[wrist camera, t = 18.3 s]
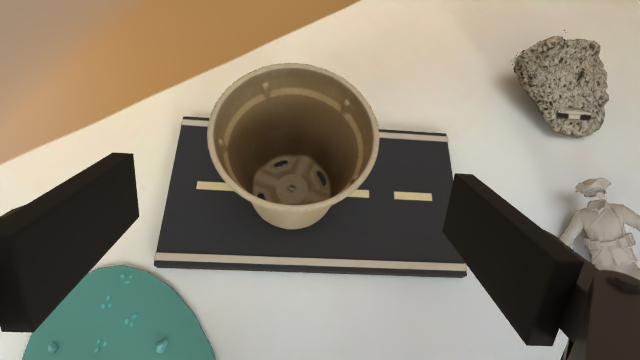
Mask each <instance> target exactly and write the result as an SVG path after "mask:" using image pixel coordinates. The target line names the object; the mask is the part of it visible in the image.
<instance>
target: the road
mask: <svg viewBox="0 0 640 360" xmlns="http://www.w3.org/2000/svg"><path fill="white" fill-rule="evenodd" d="M209 119H210V118H199V117H183V119H182V122H181V131H180V136H179V141H178V146H177V151H176V156H175V161H174V166H173V171H172V176H171V181H170V186H169V191H168V196H167V201H166V206H165V211H164V216H163V221H162V226H161V231H160V236H159V241H158V246H157V251H156V253H155V257H154V260H155V261H154V266H156V267H157V268H186V269H216V270H246V271H276V272H306V273H336V274H366V275H395V276H425V277H455V278H463V277H465V276H467V273H466V271H467V266H466V264H465V262H464V260H463V259H462V258H461V256H460V255H459V253H458V252H457V251H456V249H455V248H454V247H453V245H452V244H451V243H450V241H449V240H448V239H447V237H446V236H445V235H444V233H443V232H442V230H443V226H444V221H445V217H446V212H447V208H448V203H449V198H450V194H451V189H452V185H453V177H452V170H451V163H450V156H449V149H448V143H447V142H448V137H447V136H446V134H442V133H427V132H412V131H396V130H381V129H378V130H379V139H380V140H379V149H378V154H377V158H376V161H375V163H374V166H373V168H372V170H371V171H370V173H369V175H368V176H367V178H366V179H365V180H364V182H363V183H362V184H361V185H360V186H359V187H358V188H357V189H356V190H355V191H354V192H353V193H351V194H350V195H349V196H347V197H346V198H344V199H343V200H341V201H339V202H337V203H335V204H333V205H331V207H330V208H329V210H328V211H327V212H326V214H325V215H324V216H323V217H322V218H321V219H320V220H318V221H317V222H315V223H314V224H312V225H310V226H308V227H305V228H301V229H284V228H280V227H277V226H274V225H272V224H270V223H268V222H267V221H265V220H264V219H263V218H262V217H261V216H260V215H259V214H258V213H257V211H256V210H255V208H254V206H253V205H252V203H251V202H250V201H248V200H246V199H245V198H243V197H241V196H240V195H239V194H237V193H236V192H235V191H234V190H232V188H231V187H229V186H228V185H227V184H226V182H225V181H224V180H223V179H222V177H221V176H220V174H219V173H218V171H217V170H216V168H215V166H214V164H213V161H212V159H211V156H210V152H209V149H208V141H207V129H208V123H209ZM287 163H288V162H286V161H282V162H280V163H277V164H275V165H274V167H279V166H281V167H282V165H285V164H287ZM317 175H318V177H319V179H320V181H321V183H322V185H323V186H325V185H326V180H325V178H324V176H323V175H322V174H321V173H320V172H317ZM289 189H290V190H292V191H294V190H295V187H294V186H290V187H289ZM258 198H261V199H263V200H265V198H264V195H263V194H258Z"/></svg>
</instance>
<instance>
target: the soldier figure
mask: <svg viewBox="0 0 640 360" xmlns="http://www.w3.org/2000/svg"><path fill="white" fill-rule="evenodd" d="M609 185H611V183H610V182H609V181H607V180H606V179H603V178H598V179H589V180H586V181H584V182H583V183H579V184H577V185H576V192H580V193H582V194H584V196H585V197H595V196H596V197H598V198H602V197H605V196H604V194H605V193H606V190H605V189H606V188H607V187H608V186H609ZM606 194H607V193H606ZM605 198H607V197H605ZM624 223H626V224H627V225H629V226H631V227H633V228H636V229H638V230H639V231H640V216H639V215H637V214H636V213H634V212H633V211H631V210H630V209H629V208H627V207H625V206H624V205H622V204H609V203H607V202H606V200H604V199H601V200H595V201H590V202H588V206H587V208H585V209H581V210H579V211H577V212H575V215H574V216H573V218H572V220H571V221H570V224H569V225H568V226H567V228H566V230H565V232H564V233H563V234H562V235H561V237H560V240H561V241H562V242H564V243H565V245H567V246H569V247H570V246H571V245H572V243H573V241H574V240H575V238H576V237H577V236H578V235H579V234H580V233H581V232H582V230H583V228H584V229H585V232H586V235H587V238H584V240H585V247H586V248H587V249H589V251H590V253H591V255H592V259H591V261H592V264H593V265H595V267H596V268H597V269H599V270H612V271H617V272H620V273H624V274H627V275H630V276H632V277H634V278H637V279H639V280H640V269H639V268H638V267H637V266H636V264H635V263H634V261H636V257H635V255H634V254H633V251H632V248H631V246H633V245H634V244H636V243H635V241H634V238H633V236H632V233H627V234H626V232H625V228H624Z"/></svg>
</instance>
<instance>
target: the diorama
mask: <svg viewBox="0 0 640 360" xmlns="http://www.w3.org/2000/svg"><path fill="white" fill-rule="evenodd" d="M22 360H215V357H214V354H213V351H212V348H211V346H210V344H209V342H208V340H207V338H206V336H205V334H204V332H203V330H202V328H201V327H200V325H199V323H198V321H197V319H196V317H195V315H194V313H193V312H192V311H191V310H190V309H189V307H188V306H187V305H186V304H185V303H184V302H183V300H182V299H181V298H180V297H179V296H178V294H177V293H176V292H175V291H174V290H173V289H172V288H171V287H170V286H168V285H167V284H165V283H164V282H162V281H161V280H159V279H158V278H156V277H155V276H153V275H152V274H151V273H149V272H146V271H143V270H139V269H135V268H132V267H128V266H124V265H122V266H113V267H105V268H98V269H96V270H94V271H92V272H90V273H88V274H87V275H86V276H85V277H84V278H83V279H82V280H81V281H80V282H79V283H78V284H77V285H76V287H75V288H74V289H73V290H72V291H71V292H70V293H69V294H68V295H67V296H66V298H65V299H64V300H63V301H62V302H61V303H60V304H59V305H58V306H57V307H56V309H55V310H54V311H53V312H52V313H51V314H50V315H49V316H48V317H47V318H46V320H45V321H44V322H43V323H42V324H41V325H40V326H39V327H38V328H37V329H36V330H35V332H33V333H32V335H31V336H30V339H29V342H28V345H27V347H26V350H25V353H24V356H23V359H22Z"/></svg>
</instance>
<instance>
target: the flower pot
mask: <svg viewBox="0 0 640 360" xmlns="http://www.w3.org/2000/svg"><path fill="white" fill-rule="evenodd" d="M379 140H380V139H379V130H378V124H377V121H376V118H375V116H374V113H373V111H372V108H371V107H370V106H369V104H368V102H367V101H366V100H365V98H364V97H363V96H362V95H361V93H360V92H359V91H358V90H357V89H356V88H355V87H354V86H352V85H351V84H350V83H349V82H348V81H346V80H345V79H343V78H341V77H340V76H338V75H336V74H334V73H332V72H330V71H327V70H325V69H322V68H319V67H315V66H312V65H308V64H298V63H284V64H276V65H270V66H266V67H262V68H259V69H258V70H255V71H253V72H250V73H248V74H246V75H245V76H243V77H241V78H240V79H238V80H237V81H235V82H234V83H233V84H232V85H231V86H229V87H228V88H227V89H226V90H225V92H224V93H223V94H222V96H221V97H220V98H219V99H218V101H217V102H216V104H215V106H214V108H213V111H212V113H211V116H210V119H209V123H208V129H207V141H208V149H209V152H210V156H211V159H212V161H213V164H214V166H215V168H216V170H217V171H218V173H219V174H220V176H221V177H222V179H223V180H224V181H225V182H226V184H227V185H228V186H229V187H231V188H232V190H234V191H235V192H236V193H237V194H239V195H240V196H241V197H243V198H245V199H246V200H248V201H250V202H251V203H252V205H253V206H254V208H255V210H256V211H257V213H258V214H259V215H260V216H261V217H262V218H263V219H264V220H265V221H267V222H268V223H270V224H272V225H274V226H277V227H280V228H284V229H301V228H305V227H308V226H310V225H312V224H314V223H315V222H317V221H318V220H320V219H321V218H322V217H323V216H324V215H325V214H326V212H327V211H328V210H329V208H330V207H331V205H333V204H335V203H337V202H339V201H341V200H343V199H344V198H346V197H347V196H349V195H350V194H351V193H353V192H354V191H355V190H356V189H357V188H358V187H359V186H360V185H361V184H362V183H363V182H364V180H365V179H366V178H367V176H368V175H369V173H370V171H371V170H372V168H373V166H374V163H375V161H376V158H377V154H378V149H379ZM282 161H286V162H288V163H287V164H285V165H282V167H281V166H279V167H274V165H275V164H277V163H280V162H282ZM317 172H320V173H321V174H322V175H323V176H324V178H325V180H326V185H325V186H323V185H322V183H321V181H320V179H319V177H318V175H317ZM290 186H294V187H295V190H294V191H292V190H290V189H289V187H290ZM258 194H263V195H264V198H265V200H263V199H261V198H258Z"/></svg>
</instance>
